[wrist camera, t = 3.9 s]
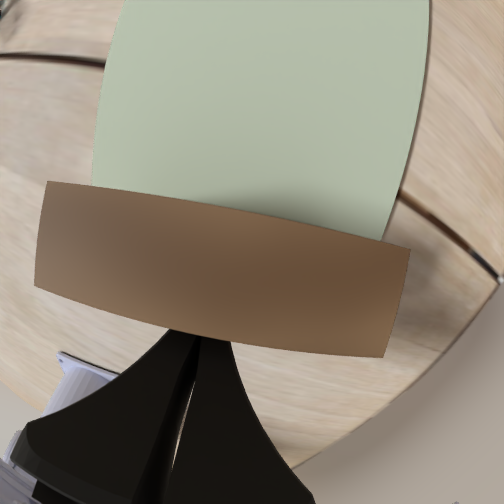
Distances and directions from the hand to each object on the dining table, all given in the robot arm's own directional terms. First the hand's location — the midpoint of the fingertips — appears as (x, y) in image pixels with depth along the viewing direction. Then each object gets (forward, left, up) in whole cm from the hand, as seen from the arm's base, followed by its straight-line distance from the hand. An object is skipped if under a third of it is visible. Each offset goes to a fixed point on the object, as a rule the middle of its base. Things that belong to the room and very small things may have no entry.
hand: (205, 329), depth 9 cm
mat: (+11, 0, -6) cm, 12 cm away
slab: (0, 0, -5) cm, 5 cm away
